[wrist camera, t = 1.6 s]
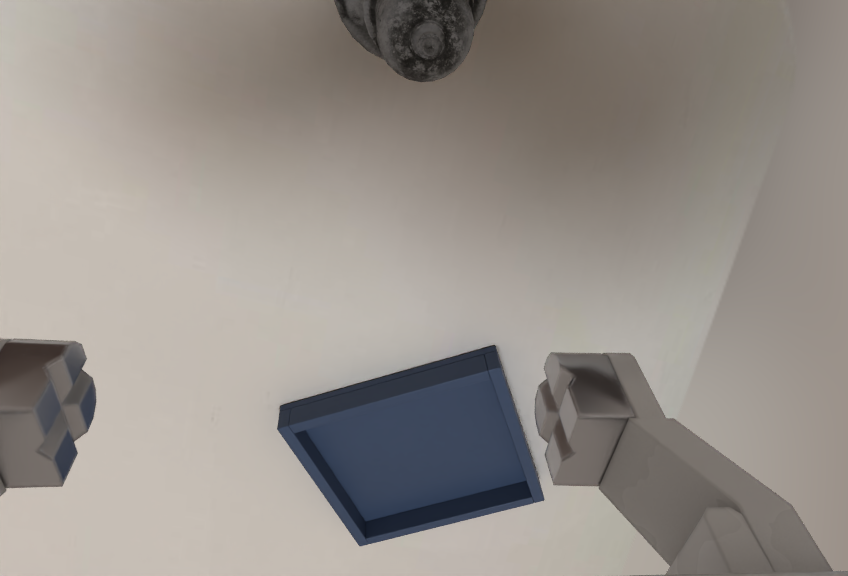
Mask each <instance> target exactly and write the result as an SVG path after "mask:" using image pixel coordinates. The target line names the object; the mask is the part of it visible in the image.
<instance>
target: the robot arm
mask: <svg viewBox="0 0 848 576" xmlns="http://www.w3.org/2000/svg"><path fill="white" fill-rule="evenodd" d="M86 359H87V358H86V355H85V352H84V349H83V346H82V344H80V343H78V342H76V341H57V340H35V339H0V496H1V495H2V494H3V493H5V492H6V488H25V487H60V486H63V484H64V482H65V480H66V477H67V475H68V473H69V471H70V469H71V467H72V464H73V462H74V460H75V458H76V456H77V454H78V453H77V450H76V447H75V444H74V441H75V440H77V439H78V438H80V437H81V436H82V435H84V434H85V433H86V432H88V429H89V427H90V425H91V422H92V420H93V417H94V411H95V406H96V389H95V385H94V381H93V378H92V377H91V376H89V375H88V374H87V373H86V372H84V371H83V370H82V367H83V365H84V363H85V361H86ZM544 370H545V374H546V377H547V379H546V380H545V381H544V382H542V383H541V384H540V385H539V386H538V390H537V394H536V398H535V419H536V425H537V429H538V433H539V435H540V436H541V437H542V438H543V439H544V440H545V441H546V442H547V443H548V446H547V449H546V452H545V457H546V461H547V464H548V468H549V471H550V474H551V478H552V481H553V485H569V486H599V489H600V490H601V492H602V493H603V494H604V495H605V496H606V497H607V498H608V499H609V500H610V501H611V502H612V504H613V505H614V506H615V507H616V508H617V509H618V510H619V511H620V512H621V513H622V514H623V515H624V517H625V518H626V519H627V520H628V521H629V522H630V523H631V524H632V525H633V526H634V527H635V529H636V530H637V531H638V532H639V533H640V534H641V535H642V536H643V537H644V538H645V539H646V540H647V542H648V543H649V544H650V545H651V546H652V547H653V548H654V549H655V550H656V551H657V552H658V553H659V555H660V556H661V557H662V558H663V559H664V560H665V561H666V562H667V563H668V564H669V565H670V568H669V570H668V571H667V573H666V574H665V575H633V576H848V571H833V570H832V569H831V567H830V565H829V564H828V562H827V561H826V559H825V557H824V556H823V554H822V553H821V551H820V550H819V548H818V546H817V545H816V543H815V541H814V540H813V538H812V537H811V535H810V533H809V532H808V530H807V528H806V527H805V525H804V524H803V522H802V521H801V519H800V517H799V516H798V514H797V513H796V511H795V509H794V508H793V506H792V505H791V504H790V503H788V502H787V501H786V500H784V499H783V498H781V497H780V496H779V495H777V494H776V493H774V492H773V491H772V490H771V489H769V488H768V487H766V486H765V485H764V484H762V483H761V482H759V481H758V480H757V479H755V478H754V477H753V476H751V475H750V474H749V473H747V472H746V471H744V470H743V469H742V468H740V467H739V466H738V465H736V464H735V463H734V462H732V461H731V460H730V459H728V458H727V457H725V456H724V455H723V454H721V453H720V452H719V451H717V450H716V449H714V448H713V447H712V446H710V445H709V444H708V443H706V442H705V441H704V440H702V439H701V438H700V437H698V436H697V435H695V434H694V433H693V432H691V431H690V430H689V429H687V428H686V427H685V426H683V425H682V424H680V423H679V422H678V421H676V420H675V419H668V418H666V417H665V415H664V413H663V411H662V409H661V408H660V406H659V404H658V402H657V400H656V398H655V396H654V394H653V392H652V390H651V388H650V386H649V384H648V382H647V380H646V378H645V377H644V375H643V373H642V371H641V369H640V367H639V365H638V363H637V361H636V359H635V357H634V356H633V355H631V354H630V353H603V354H601V353H555V352H551V353H550V354H549V356H548V357H547V359H546V363H545V366H544Z"/></svg>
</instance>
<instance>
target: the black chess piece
mask: <svg viewBox="0 0 848 576" xmlns="http://www.w3.org/2000/svg"><path fill="white" fill-rule="evenodd" d="M334 1H335V3H336V6H337V9H338V12H339V15H340V18H341V20H342V22H343V23H344V25H345V26H346V28H347V29H348V31H349V32H350V34H351V35H352V37H353V38H354V39H355V40H356V41H357V42H359V43H360V44H361V45H362V46H363V47H364V48H365V49H366V50H367V51H369V52H371V53H372V54H374V55H376V56H378V57H380V58H382V59H384V60H385V61H386V62H387V64H388V65H389V66H390V67H391V68H392V69H393V70H394V71H396V72H397V73H398V74H399V75H401V76H403V77H405V78H407V79H409V80H413V81H418V82H430V81H435V80H438V79H441V78H444V77H446V76H447V75H449V74H450V73H452V72H453V71H455V70H456V69H457V67H458V66H459V65H460V64H461V63H462V62H463V61H464V59H465V57H466V55H467V54H468V52H469V50H470V46H471V43H472V39H473V36H474V29H475V27H476V25H477V23H478V21H479V20H480V18H481V16H482V14H483V11H484V8H485V4H486V1H487V0H334Z"/></svg>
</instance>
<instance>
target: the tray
mask: <svg viewBox="0 0 848 576" xmlns="http://www.w3.org/2000/svg"><path fill="white" fill-rule="evenodd" d="M277 429H278V431H279V432H280V434H281V435H282V437H283V438H284V439H285V441H286V442H287V444H288V445H289V446H290V448H291V449H292V451H293V452H294V454H295V455H296V456H297V458H298V459H299V461H300V462H301V464H302V465H303V466H304V468H305V469H306V471H307V472H308V474H309V475H310V476H311V478H312V479H313V481H314V482H315V484H316V485H317V486H318V488H319V489H320V491H321V492H322V493H323V495H324V496H325V498H326V499H327V501H328V502H329V503H330V505H331V506H332V508H333V509H334V511H335V512H336V513H337V515H338V516H339V518H340V519H341V521H342V522H343V523H344V525H345V526H346V528H347V529H348V531H349V532H350V533H351V535H352V536H353V538H354V539H355V540H356V542H357V543H358V545H359V546H363V545H367V544H372V543H376V542H380V541H384V540H388V539H392V538H396V537H400V536H404V535H408V534H412V533H416V532H420V531H424V530H428V529H432V528H436V527H440V526H444V525H448V524H452V523H456V522H460V521H464V520H468V519H472V518H476V517H480V516H484V515H488V514H492V513H496V512H500V511H504V510H508V509H512V508H516V507H520V506H524V505H528V504H532V503H536V502H540V501H544V496H543V492H542V489H541V485H540V481H539V478H538V474H537V471H536V468H535V465H534V462H533V459H532V456H531V453H530V450H529V447H528V444H527V441H526V438H525V435H524V432H523V429H522V426H521V423H520V420H519V417H518V414H517V410H516V407H515V404H514V401H513V398H512V395H511V392H510V389H509V386H508V383H507V380H506V377H505V374H504V371H503V368H502V365H501V362H500V359H499V356H498V353H497V349H496V346H491V347H488V348H484V349H481V350H477V351H474V352H470V353H466V354H463V355H459V356H456V357H452V358H449V359H445V360H442V361H438V362H435V363H431V364H427V365H424V366H420V367H417V368H413V369H410V370H406V371H403V372H399V373H396V374H392V375H388V376H385V377H381V378H378V379H374V380H371V381H367V382H364V383H360V384H356V385H353V386H349V387H346V388H342V389H339V390H335V391H332V392H328V393H325V394H321V395H317V396H314V397H310V398H307V399H303V400H300V401H296V402H293V403H289V404H286V405H282V406H280V414H279V421H278V428H277Z"/></svg>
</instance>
